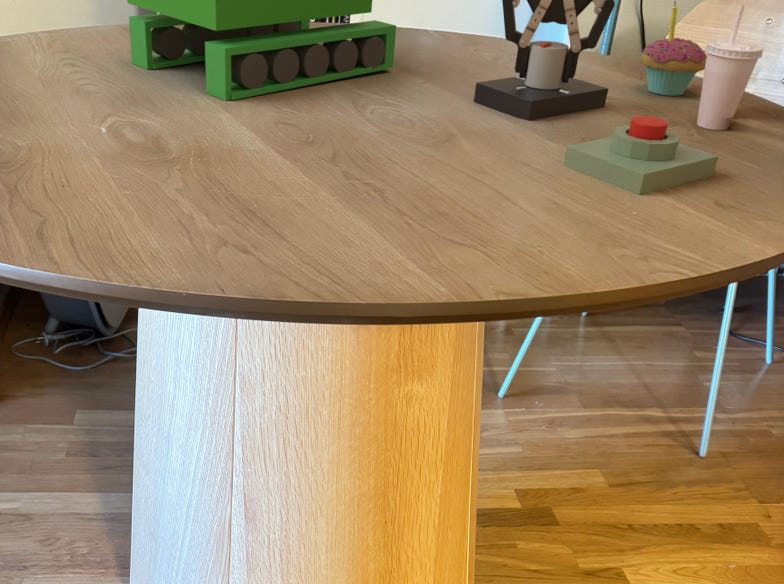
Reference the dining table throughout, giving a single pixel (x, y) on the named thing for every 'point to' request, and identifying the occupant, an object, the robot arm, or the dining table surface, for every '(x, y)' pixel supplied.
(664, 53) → the cupcake
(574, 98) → the timer panel
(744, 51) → the smoothie
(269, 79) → the tank
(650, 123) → the power button
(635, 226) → the dining table surface
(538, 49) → the timer dial
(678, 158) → the switch block
